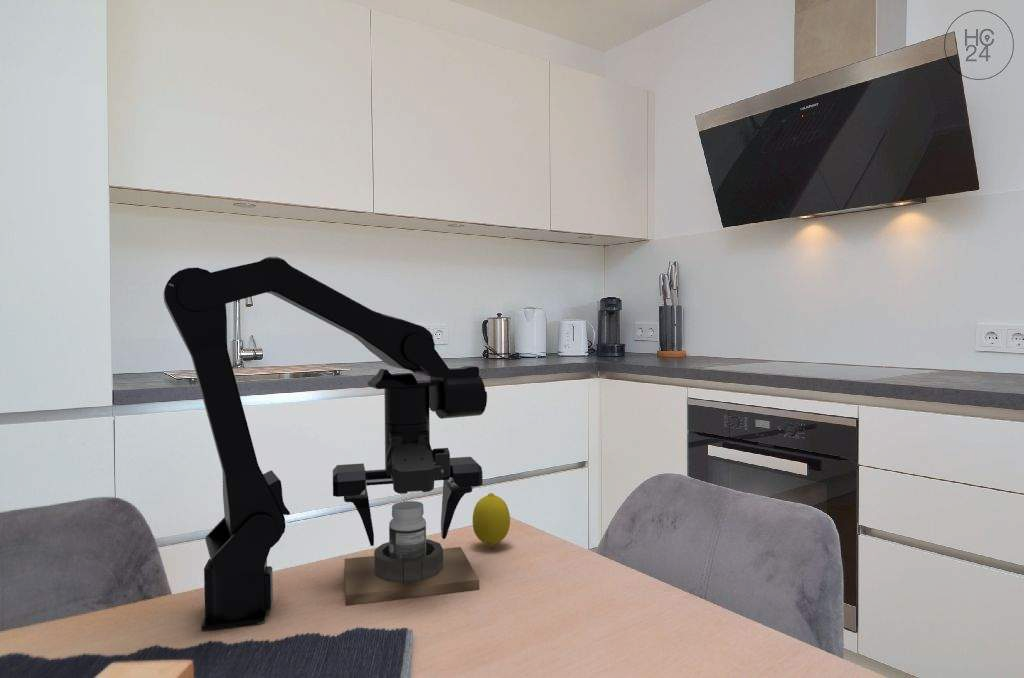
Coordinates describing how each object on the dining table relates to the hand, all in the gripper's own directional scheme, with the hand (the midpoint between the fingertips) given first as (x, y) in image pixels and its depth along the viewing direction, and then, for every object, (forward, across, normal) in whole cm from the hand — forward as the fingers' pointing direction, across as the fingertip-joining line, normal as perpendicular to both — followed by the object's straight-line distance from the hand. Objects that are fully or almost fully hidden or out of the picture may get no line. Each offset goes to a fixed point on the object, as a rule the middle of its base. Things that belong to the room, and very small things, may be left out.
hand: (408, 541), depth 83 cm
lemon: (+5, +13, +8) cm, 16 cm away
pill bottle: (+4, 0, 0) cm, 4 cm away
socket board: (+5, 0, 0) cm, 5 cm away
